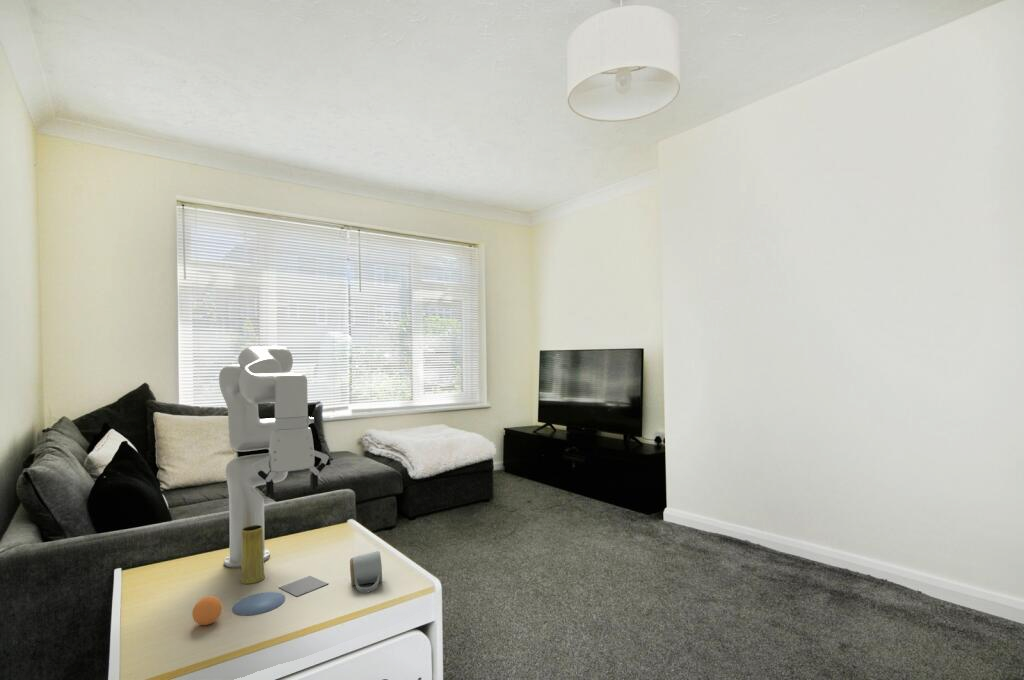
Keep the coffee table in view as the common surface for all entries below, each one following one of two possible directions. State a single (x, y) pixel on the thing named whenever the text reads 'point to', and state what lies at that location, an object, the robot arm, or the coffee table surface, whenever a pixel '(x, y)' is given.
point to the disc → (258, 603)
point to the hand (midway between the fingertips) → (292, 493)
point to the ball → (207, 610)
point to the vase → (252, 555)
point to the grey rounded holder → (366, 570)
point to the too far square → (303, 586)
